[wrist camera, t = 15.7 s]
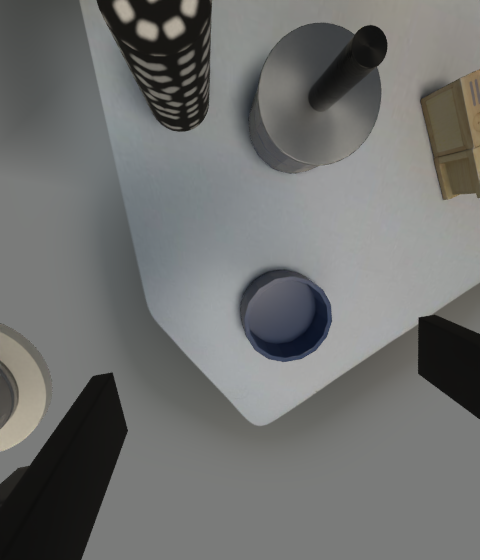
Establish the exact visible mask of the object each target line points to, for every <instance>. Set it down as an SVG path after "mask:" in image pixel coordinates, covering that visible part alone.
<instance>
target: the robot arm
mask: <svg viewBox="0 0 480 560" xmlns="http://www.w3.org/2000/svg"><path fill="white" fill-rule="evenodd" d="M418 329H419V330H418V333H419V334H418V335H419V336H418V337H419V338H418V340H419V341H418V374H419V375H421V376H422V377H423V378H425V379H426V380H427V381H429V382H430V383H431V384H433V385H434V386H435V387H437V388H438V389H440V390H441V391H442V392H444V393H445V394H446V395H448V396H449V397H450V398H452V399H453V400H454V401H456V402H457V403H459V404H460V405H461V406H463V407H464V408H465V409H467V410H468V411H469V412H471V413H472V414H473V415H475V416H476V417H477V418H479V419H480V334H479V333H476V332H474V331H471V330H469V329H467V328H464V327H462V326H460V325H457V324H455V323H453V322H451V321H448V320H446V319H444V318H441V317H439V316H436V315H430V316H425V317H419V328H418ZM18 401H19V390H18V385H17V382H16V380H15V378H14V376H13V374H12V373H11V371H10V370H9V369H8V367H7V366H6V365H5V364H4V363H3V362H1V361H0V429H1V428H2V427H3V426H4V425H5V424H6V423H7V422H8V421H9V420H10V418H11V417H12V416H13V414H14V413H15V411H16V408H17V405H18ZM127 432H128V429H127V426H126V422H125V418H124V414H123V410H122V407H121V403H120V399H119V395H118V392H117V388H116V384H115V380H114V376H113V373H107V374H101V375H96V376H93V377H92V378H91V379H90V381H89V382H88V384H87V385H86V387H85V388H84V389H83V391H82V392H81V394H80V395H79V396H78V398H77V399H76V401H75V402H74V404H73V405H72V406H71V408H70V409H69V411H68V412H67V414H66V415H65V417H64V418H63V419H62V421H61V422H60V423H59V425H58V426H57V428H56V429H55V431H54V432H53V433H52V435H51V436H50V438H49V439H48V441H47V442H46V443H45V445H44V446H43V448H42V449H41V451H40V452H39V453H38V455H37V456H36V458H35V459H34V460H33V462H32V463H31V465H30V466H26V467H21V468H18V469H17V470H16V471H15V472H13V473H12V474H11V475H10V476H9V477H8V478H7V479H6V480H4V481H3V482H2V483H1V484H0V560H81V559H82V556H83V553H84V551H85V548H86V545H87V542H88V540H89V537H90V534H91V531H92V528H93V526H94V523H95V520H96V517H97V514H98V512H99V509H100V506H101V504H102V501H103V498H104V495H105V493H106V490H107V487H108V484H109V481H110V479H111V476H112V473H113V470H114V468H115V465H116V462H117V459H118V456H119V454H120V451H121V448H122V446H123V443H124V439H125V437H126V434H127Z"/></svg>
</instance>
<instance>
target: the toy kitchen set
mask: <svg viewBox="0 0 480 560" xmlns="http://www.w3.org/2000/svg"><path fill="white" fill-rule="evenodd" d="M421 105H422V109H423V113H424V117H425V121H426V125H427V130H428V134H429V138H430V142H431V146H432V151H433V155H434V157H435V158H434V163H435V167H436V171H437V174H438V179H439V183H440V187H441V191H442V195H443V199H444V200H448V199H451V198H453V197H455V196H457V195H459V194H471V193H476V195H477V198H480V69H479V70H477V71H474V72H472V73H470V74H468V75H466V76H463V77H461V78H459V79H458V80H456V81H454V82H452V83H450V84H448V85H446V86H445V87H443V88H441V89H439V90H437V91H435V92H433V93H432V94H430V95H428V96H426V97H424V98H422V99H421Z"/></svg>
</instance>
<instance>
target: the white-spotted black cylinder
mask: <svg viewBox="0 0 480 560" xmlns="http://www.w3.org/2000/svg"><path fill="white" fill-rule="evenodd" d="M97 3H98V6H99V9H100V11H101V13H102V15H103V18H104V20H105V22H106V24H107V26H108V27H109V29H110V31H111V33H112V35H113V37H114V39H115V41H116V43H117V45H118V47H119V49H120V51H121V53H122V55H123V57H124V59H125V61H126V62H127V64H128V66H129V68H130V70H131V72H132V74H133V76H134V78H135V80H136V82H137V84H138V86H139V88H140V90H141V92H142V94H143V96H144V97H145V99H146V101H147V103H148V105H149V107H150V109H151V111H152V113H153V115H154V116H155V118H156V119H157V120H158V121H159V122H160V123H161V124H162V125H163V126H165V127H166V128H168V129H171V130H173V131H188V130H191V129H193V128H195V127H197V126H198V125H199V124H200V123H201V122H202V121H203V120H204V118H205V116H206V114H207V111H208V106H209V82H210V46H211V10H212V0H97Z"/></svg>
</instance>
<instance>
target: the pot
mask: <svg viewBox="0 0 480 560" xmlns="http://www.w3.org/2000/svg"><path fill="white" fill-rule="evenodd" d="M257 94H258V89H257V92H256V94H255V97H254V99H253V102H252V107H251V110H250V115H249V120H248V121H249V133H250V138H251V141H252V144H253V146H254V149H255V150H256V152H257V154H258V155H259V156H260V158H261V159H262V160H263V161H264V162H265V163H266V164H268V165H269V166H270V167H272V168H274V169H276V170H278V171H281V172H285V173H290V174H291V173H300V172H306V171H309V170H311V169H313V168H316V167H318V166H315V165H307V164H302V163H299V162H297V161H294V160H292V159H291V158H289V157H287V156H286V155H285V154H283V153H282V152H281V151H280V150H279V149H278V148H277V147H276V146H275V145H274V144H273V143H272V141H271V140H270V138H269V137H268V135H267V133H266V132H265V129H264V127H263V125H262V122H261V118H260V115H259V109H258V98H257ZM319 166H320V165H319Z"/></svg>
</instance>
